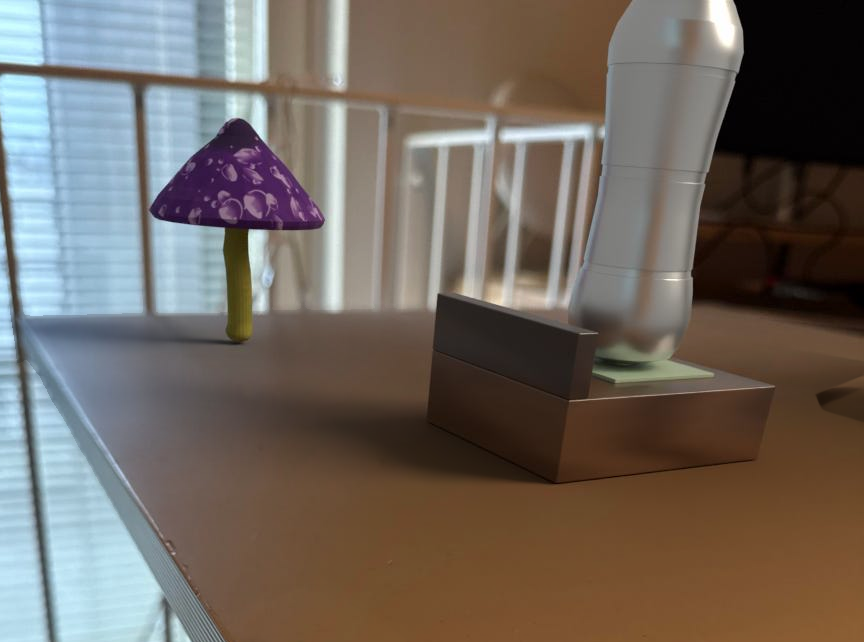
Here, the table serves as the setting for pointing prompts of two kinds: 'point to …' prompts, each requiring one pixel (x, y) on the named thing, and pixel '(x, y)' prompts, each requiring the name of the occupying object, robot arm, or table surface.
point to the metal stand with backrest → (581, 398)
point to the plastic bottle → (654, 173)
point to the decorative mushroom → (237, 205)
